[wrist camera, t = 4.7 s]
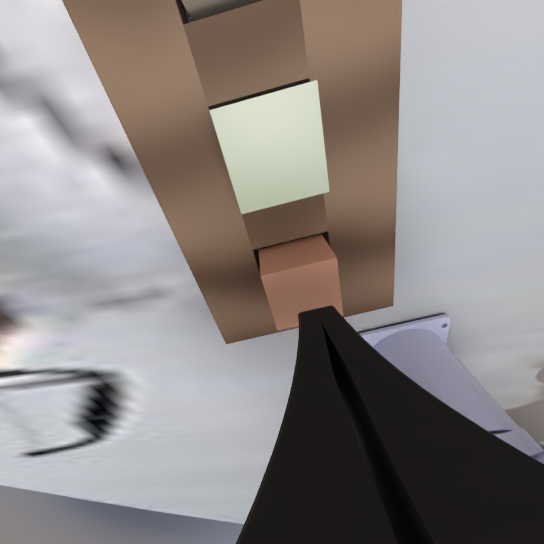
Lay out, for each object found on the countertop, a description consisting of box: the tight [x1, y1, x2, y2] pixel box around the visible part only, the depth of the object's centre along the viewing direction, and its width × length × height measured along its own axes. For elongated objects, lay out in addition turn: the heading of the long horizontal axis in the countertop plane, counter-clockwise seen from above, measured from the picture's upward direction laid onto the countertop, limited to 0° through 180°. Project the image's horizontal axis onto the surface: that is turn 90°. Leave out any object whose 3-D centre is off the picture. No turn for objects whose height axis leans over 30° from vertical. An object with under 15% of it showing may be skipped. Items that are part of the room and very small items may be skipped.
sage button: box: [209, 80, 330, 214], centre depth 11 cm, size 4×4×3 cm
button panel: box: [62, 0, 402, 344], centre depth 13 cm, size 23×12×2 cm, turn 13°
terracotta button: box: [259, 234, 343, 331], centre depth 14 cm, size 4×4×3 cm
